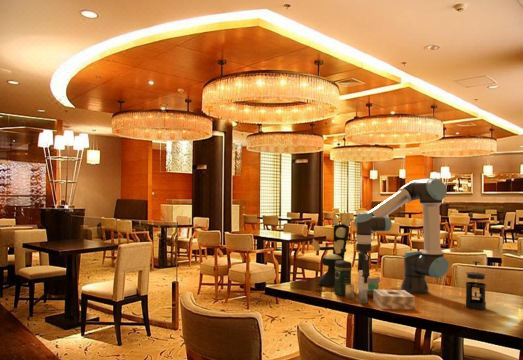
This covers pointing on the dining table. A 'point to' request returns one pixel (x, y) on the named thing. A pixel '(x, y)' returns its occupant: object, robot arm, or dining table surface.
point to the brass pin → (349, 291)
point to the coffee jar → (342, 276)
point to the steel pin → (361, 292)
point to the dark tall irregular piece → (334, 249)
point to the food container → (372, 285)
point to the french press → (471, 302)
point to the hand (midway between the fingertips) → (363, 287)
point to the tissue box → (393, 299)
